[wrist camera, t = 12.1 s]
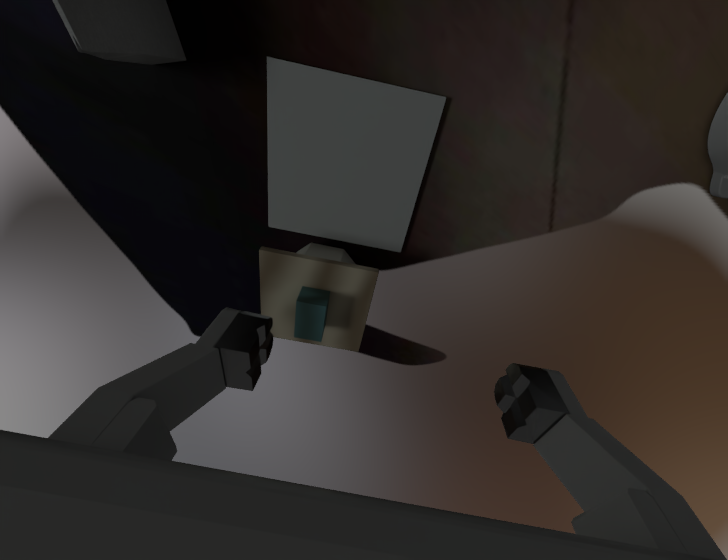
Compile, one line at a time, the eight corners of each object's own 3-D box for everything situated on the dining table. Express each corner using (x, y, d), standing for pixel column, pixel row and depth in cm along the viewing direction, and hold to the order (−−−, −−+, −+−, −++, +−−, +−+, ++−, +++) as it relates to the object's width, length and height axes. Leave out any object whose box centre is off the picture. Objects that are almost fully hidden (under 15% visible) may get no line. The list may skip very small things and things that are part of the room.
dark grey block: (152, -38, 25) (34, -102, 16) (186, 60, 28) (104, 48, 20) (114, -31, 25) (-20, -91, 17) (153, 64, 29) (59, 54, 20)
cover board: (378, 269, 34) (378, 287, 30) (358, 347, 41) (356, 368, 38) (261, 246, 33) (248, 263, 30) (263, 330, 41) (253, 351, 38)
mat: (445, 97, 29) (446, 97, 28) (400, 250, 39) (400, 252, 38) (269, 57, 28) (266, 56, 27) (269, 224, 38) (268, 226, 37)
